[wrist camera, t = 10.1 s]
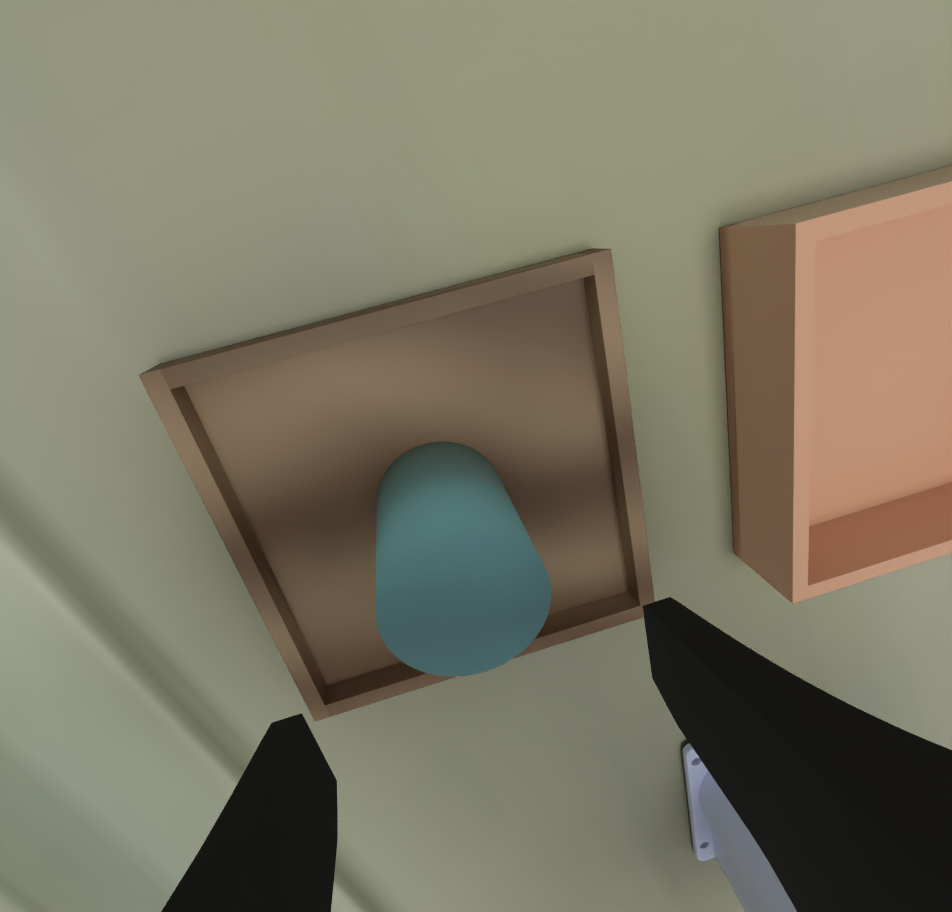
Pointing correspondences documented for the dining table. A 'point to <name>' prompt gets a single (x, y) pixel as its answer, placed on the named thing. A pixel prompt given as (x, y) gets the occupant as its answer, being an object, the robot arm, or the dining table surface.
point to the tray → (403, 428)
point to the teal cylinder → (454, 564)
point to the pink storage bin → (841, 384)
